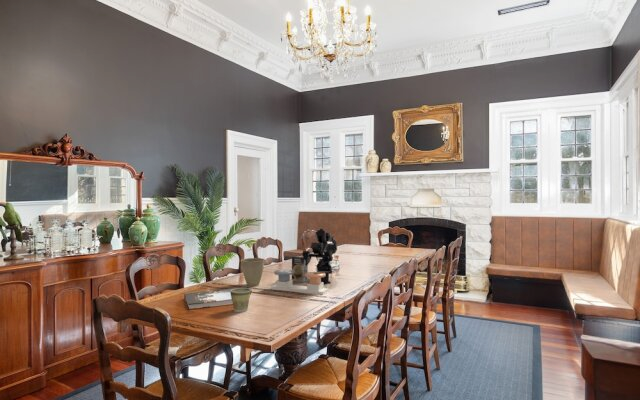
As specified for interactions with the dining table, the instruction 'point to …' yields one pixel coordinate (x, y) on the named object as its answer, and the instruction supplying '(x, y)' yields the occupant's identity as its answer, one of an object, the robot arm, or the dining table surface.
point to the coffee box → (299, 269)
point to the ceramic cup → (240, 299)
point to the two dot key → (284, 274)
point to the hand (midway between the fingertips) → (312, 266)
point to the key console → (300, 287)
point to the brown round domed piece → (315, 277)
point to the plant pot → (252, 270)
